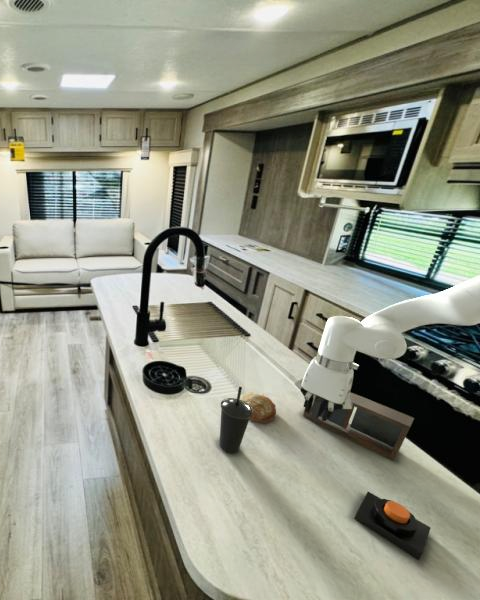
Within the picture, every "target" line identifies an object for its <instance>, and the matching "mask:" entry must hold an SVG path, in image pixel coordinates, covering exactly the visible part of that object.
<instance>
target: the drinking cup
mask: <svg viewBox="0 0 480 600" xmlns="http://www.w3.org/2000/svg"><path fill="white" fill-rule="evenodd" d="M242 390H243V387H242V386H238V390H237V396H236V398H235V397H226V398H224V399H222V400H221V402H220V408H221V409H220V427H219V448H220V449H221V450H222V451H224V452H225V453H227V454H232V455H233V454H236V453H238V452H239V450H240V447H241V445H242V442H243V439H244V436H245V433H246V430H247V429H248V428H247V427H248V425H249V423H250V420H251V419H250V417H251V416H252V414H253V410H252V408H251V407H250V406H249V405H248V404H247V403H246V402H244V401H242V400H241V395H242Z"/></svg>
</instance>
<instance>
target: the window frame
mask: <svg viewBox="0 0 480 600" xmlns="http://www.w3.org/2000/svg"><path fill="white" fill-rule="evenodd" d="M315 396H316V395H315V394H313V397H314V400H315ZM349 397H350V399H351V401H352V403H353V406H354V408H356V410H355V413H354V415H353V418H352V420H351V423H348V426H347V428H346V429H345V428H343V427H341V426H339V425H337V424H335V423H333V422H331V421H329V420H327V419H326V420H325V421H323V420H322V417H320V416H319V417H318V418H317V419H316V420H314V419H312V418H310V417H311V414H312V412H311V409H312V406H313V403H314V400H313V403H312V406H311V409H310V410H309V411H308V412H304V411H303V414H302V416H303V417H304V418H305V419H306V418H307V419H308V420H310V421H312V422H315V423H316V424H317V425H320V426H323V427H325V428H327V429H329V430H331V431H332V432H334V433H336V434H339V435H340V436H343V437H345V438H347V439H349V440H351V441H353V442H354V443H356V444H358V445H361V446H363V447H365V448H367V449H369V450H371V451H373V452H375V453H377V454H379V455H380V456H383V457H385V458H387V459H389V460H391V461H393V462H395V460H396V458H397V456H398V454H399V453H400V450H401V447H402V445H403V443H404V441H405V439H406V437H407V435H408V433H409V430H410V428H411V427H412V425H413V422H414V420H415V418H414V417H413V416H411V415H408V414H405V413H403V412H400V411H398V410H397V409H393V408H391V407H389V406H386V405H383V404H381V403H378V402H376V401H373V400H371V399H368V398H366V397H364V396H361V395H358V394H356V393H353V392H351V391H350V393H349Z"/></svg>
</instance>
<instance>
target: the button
mask: <svg viewBox="0 0 480 600" xmlns="http://www.w3.org/2000/svg"><path fill="white" fill-rule="evenodd" d="M393 501H394V500H391V501H388V502H387V503H386V505H385V507H384V512H385V514H386V515H387V516H388V517H389V518H391V519H393V520H394V521H396V522H398V523H401V524H405V523H407V522H408V520H409V518H410V513H411V512H410V511H409V510H408V509H407V508H406V507H405V506H404V505H402V504H400V503H398V502H397V501H394V502H393ZM409 512H410V513H409Z"/></svg>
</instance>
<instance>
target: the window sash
mask: <svg viewBox="0 0 480 600" xmlns="http://www.w3.org/2000/svg"><path fill="white" fill-rule="evenodd" d="M328 402H329V400H327V399H324V398H322V397H320V396H318V395H316V396H315V400H314V403H313V406H312V409H311V412H312V414H311V417H310V418H312V419H314V420H316V419H317V418H318V417H319V416H320V417H323V414H324V411H325V409H326V408H327V407H328ZM343 403H345V402H343ZM354 410H355V407H354V406H353V408H352V409H339V410H333V413H332V416H331V418H330V419H328V418H327V420H329V421H331V422H333V423H335V424H337V425H339V426H341V427H343V428H345V429H346V428H347V426H348V423H349V422H350V420H351V417H352V416H353V412H354ZM349 424H350V423H349Z"/></svg>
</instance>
